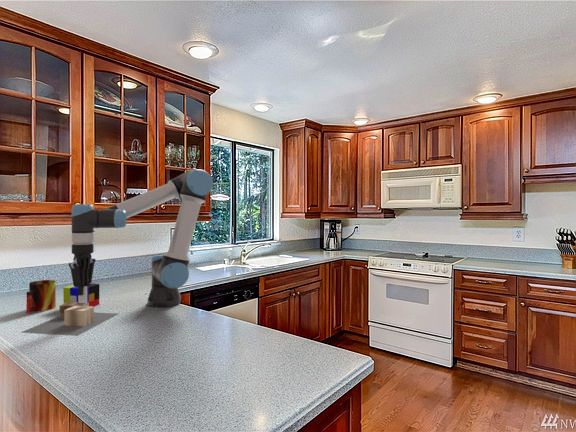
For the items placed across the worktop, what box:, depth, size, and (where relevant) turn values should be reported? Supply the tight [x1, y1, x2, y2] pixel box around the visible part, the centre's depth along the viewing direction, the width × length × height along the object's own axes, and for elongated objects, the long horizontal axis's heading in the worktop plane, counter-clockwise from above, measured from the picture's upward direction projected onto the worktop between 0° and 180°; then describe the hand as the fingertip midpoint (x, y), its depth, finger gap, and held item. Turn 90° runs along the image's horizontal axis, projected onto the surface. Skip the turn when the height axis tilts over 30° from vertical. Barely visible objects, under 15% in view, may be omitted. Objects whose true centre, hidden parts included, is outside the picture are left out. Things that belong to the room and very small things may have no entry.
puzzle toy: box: [62, 282, 100, 308], centre depth 163 cm, size 10×10×10 cm
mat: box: [21, 311, 119, 337], centre depth 143 cm, size 22×26×1 cm
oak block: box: [64, 306, 95, 326], centre depth 141 cm, size 8×6×6 cm
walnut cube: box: [58, 302, 78, 318], centre depth 150 cm, size 5×5×5 cm
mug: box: [25, 279, 57, 314], centre depth 158 cm, size 10×14×12 cm
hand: (82, 302), depth 143 cm, fingers closed
